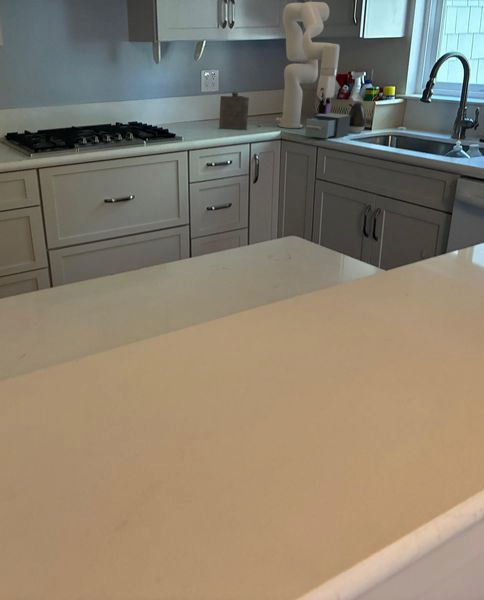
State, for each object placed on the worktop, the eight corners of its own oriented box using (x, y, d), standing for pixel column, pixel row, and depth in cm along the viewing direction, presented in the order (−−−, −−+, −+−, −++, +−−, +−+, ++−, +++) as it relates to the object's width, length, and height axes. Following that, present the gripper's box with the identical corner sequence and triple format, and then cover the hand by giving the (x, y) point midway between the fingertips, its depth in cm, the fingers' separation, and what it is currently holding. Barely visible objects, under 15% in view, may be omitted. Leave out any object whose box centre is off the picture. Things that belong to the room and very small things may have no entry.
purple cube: (317, 113, 293) (318, 103, 291) (321, 112, 296) (322, 102, 295) (326, 114, 291) (327, 104, 289) (330, 113, 294) (331, 103, 292)
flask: (219, 127, 319) (221, 91, 312) (247, 128, 317) (249, 92, 310) (218, 128, 316) (220, 91, 309) (246, 129, 314) (248, 92, 307)
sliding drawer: (322, 139, 286) (324, 122, 283) (300, 136, 292) (302, 119, 289) (338, 135, 300) (340, 118, 297) (317, 132, 306) (318, 116, 303)
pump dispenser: (339, 131, 319) (343, 100, 313) (355, 130, 323) (359, 100, 317) (352, 134, 310) (356, 102, 304) (368, 133, 314) (372, 102, 308)
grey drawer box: (336, 138, 297) (338, 117, 293) (312, 135, 304) (314, 115, 300) (348, 135, 308) (350, 115, 304) (325, 132, 315) (327, 112, 311)
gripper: (328, 71, 294) (324, 110, 302) (313, 72, 282) (308, 113, 289) (343, 72, 290) (338, 112, 298) (328, 73, 278) (323, 115, 285)
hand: (323, 112), depth 293 cm, fingers closed on purple cube, 4 cm apart
